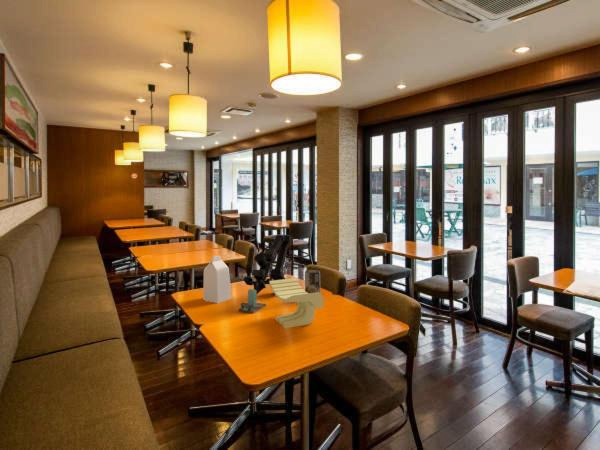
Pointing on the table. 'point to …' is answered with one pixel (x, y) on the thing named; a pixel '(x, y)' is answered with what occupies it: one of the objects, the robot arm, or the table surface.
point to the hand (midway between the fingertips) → (254, 295)
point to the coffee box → (312, 281)
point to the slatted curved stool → (294, 293)
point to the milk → (216, 281)
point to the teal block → (251, 299)
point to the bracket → (253, 309)
